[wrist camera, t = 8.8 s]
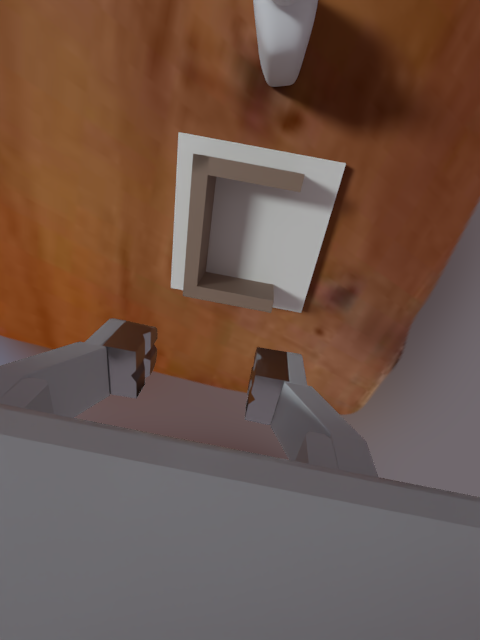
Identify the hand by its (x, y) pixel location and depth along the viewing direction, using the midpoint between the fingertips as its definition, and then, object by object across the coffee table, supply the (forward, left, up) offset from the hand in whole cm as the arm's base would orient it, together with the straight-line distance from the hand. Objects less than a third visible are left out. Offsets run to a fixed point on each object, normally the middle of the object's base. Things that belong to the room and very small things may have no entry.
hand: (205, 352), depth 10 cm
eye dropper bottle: (-14, 0, -21) cm, 25 cm away
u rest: (0, 0, -20) cm, 21 cm away
